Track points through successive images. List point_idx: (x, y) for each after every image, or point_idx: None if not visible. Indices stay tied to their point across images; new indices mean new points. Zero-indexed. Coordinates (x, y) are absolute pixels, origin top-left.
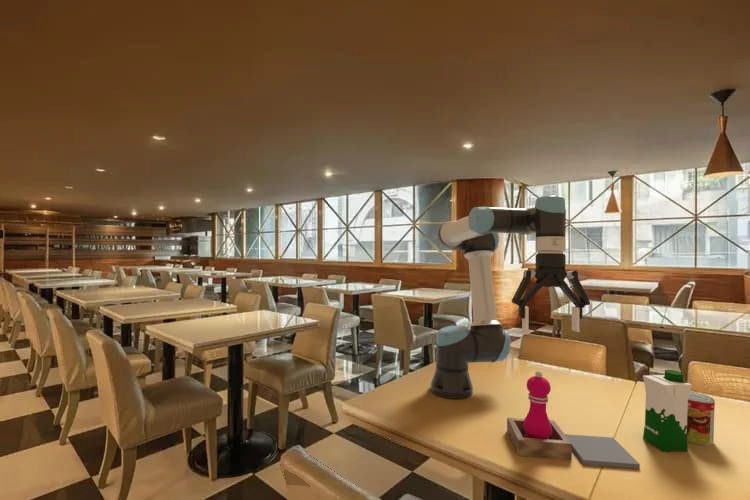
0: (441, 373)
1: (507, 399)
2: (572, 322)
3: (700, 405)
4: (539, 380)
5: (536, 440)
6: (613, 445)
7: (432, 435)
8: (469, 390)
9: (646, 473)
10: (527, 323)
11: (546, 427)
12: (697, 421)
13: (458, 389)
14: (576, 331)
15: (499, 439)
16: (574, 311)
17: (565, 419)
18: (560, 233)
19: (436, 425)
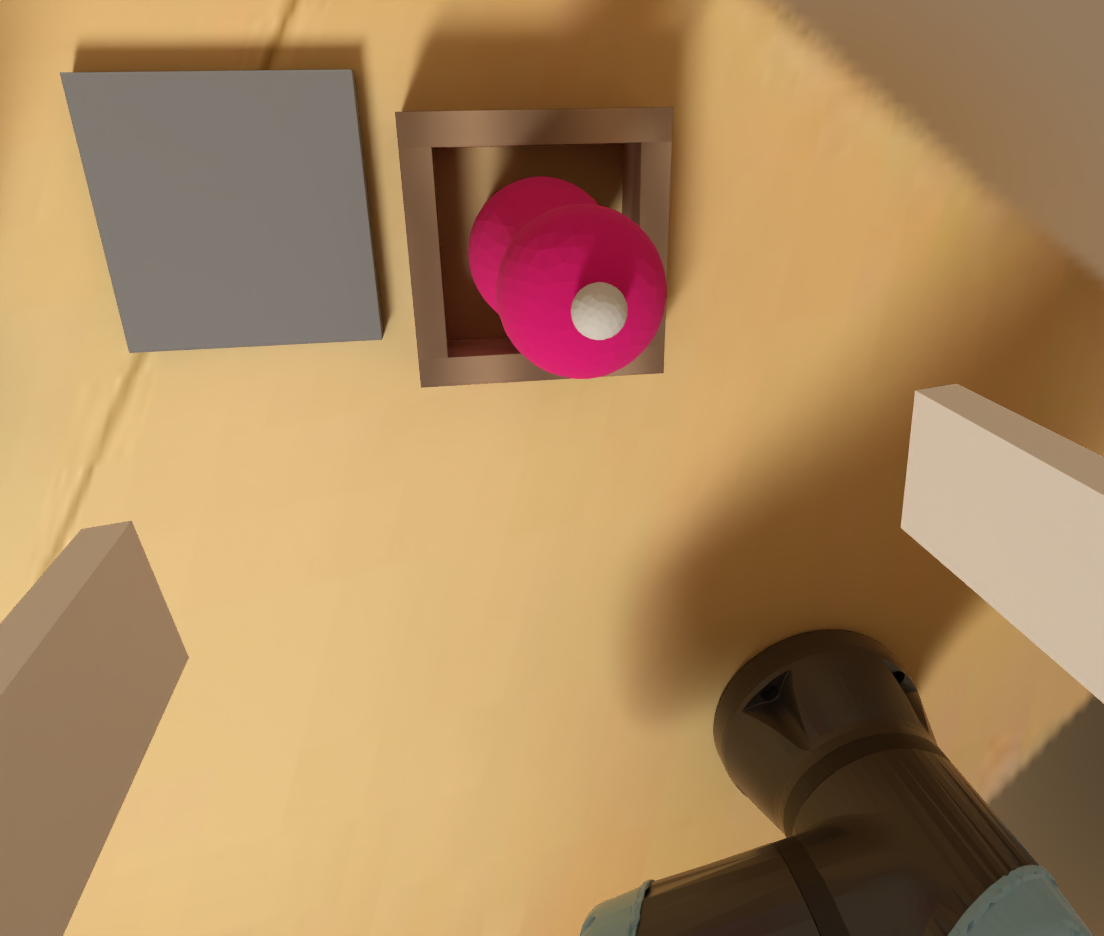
0: (927, 734)
1: (561, 689)
2: (133, 731)
3: None
4: (601, 252)
5: (579, 119)
6: (149, 262)
7: (1001, 241)
8: (751, 691)
9: (47, 35)
10: (1018, 436)
11: (515, 192)
12: None
13: (817, 667)
14: (131, 529)
15: (701, 262)
16: None
17: (323, 541)
18: None
19: (959, 345)
